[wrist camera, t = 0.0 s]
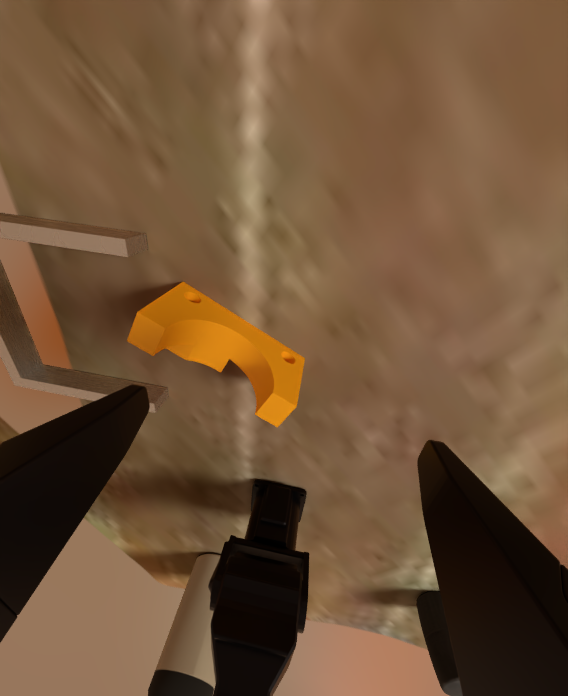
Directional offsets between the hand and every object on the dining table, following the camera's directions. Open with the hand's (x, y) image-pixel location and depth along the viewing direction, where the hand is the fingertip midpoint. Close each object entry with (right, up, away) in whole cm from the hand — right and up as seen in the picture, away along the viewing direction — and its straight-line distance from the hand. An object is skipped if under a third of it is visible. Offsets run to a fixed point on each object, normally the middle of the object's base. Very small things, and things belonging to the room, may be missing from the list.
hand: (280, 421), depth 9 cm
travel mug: (-11, -34, +39) cm, 53 cm away
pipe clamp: (-4, +3, +16) cm, 17 cm away
